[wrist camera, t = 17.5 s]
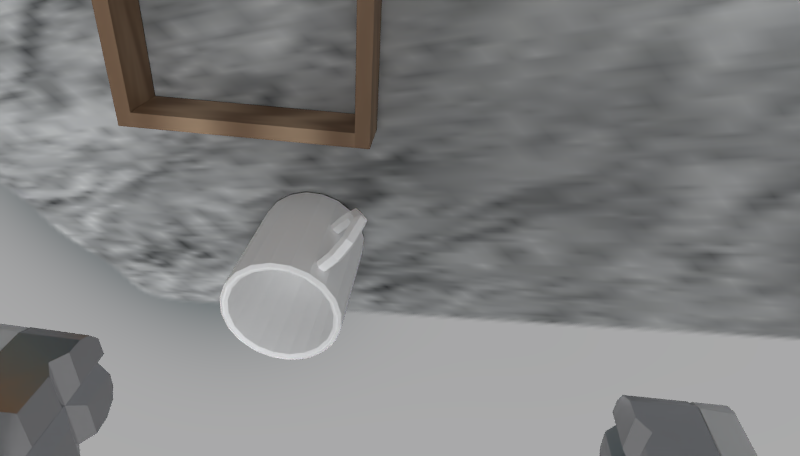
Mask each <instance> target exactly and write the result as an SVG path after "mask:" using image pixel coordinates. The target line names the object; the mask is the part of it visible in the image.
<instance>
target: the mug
mask: <svg viewBox="0 0 800 456" xmlns="http://www.w3.org/2000/svg"><path fill="white" fill-rule="evenodd" d="M366 222H367V219H366V218H365V216H364V215H363V214H362V212H360V211H359V210H358V209H357V208H355V209H353V210H351V211H350V210H349V209H348V208H346V207H345V206H344V205H343V204H341V203H340V202H339V201H337V200H335V199H332V198H330V197H328V196H325V195H323V194H316V193H309V192H305V193H299V194H292V195H289V196H287V197H285V198H283V199H281V200H279V201H277V202H276V204H275V205H274V206H273V207H272V208H271V209H270V210H269V211H268V213H267V214H266V216H265V218H264V219H263V221H262V223H261V224H260V226H259V228H258V229H257V231H256V233H255V234H254V236H253V238H252V239H251V241H250V242H249V244H248V246H247V247H246V249H245V251H244V252H243V254H242V256H241V257H240V259H239V261H238V262H237V264H236V266H235V267H234V269H233V271H232V272H231V274H230V276H229V277H228V279H227V280H226V282H225V284H224V287H223V290H222V292H221V295H220V307H221V314H222V316H223V318H224V320H225V322H226V324H227V326H228V328H229V329H230V330H231V331H232V332H233V334H234V335H235V336H236V337H237V338H238V339H239V340H240V341H241V342H243V343H244V344H246V345H247V346H249V347H250V348H252V349H253V350H255V351H257V352H260V353H262V354H265V355H268V356H270V357H274V358H281V359H288V360H293V359H304V358H309V357H312V356H314V355H317V354H319V353H322V352H323V351H325V350H326V349H327V348H329V347H330V346H331V345H332V344H333V343H334V342H335V340H336V338H337V336H338V334H339V332H340V330H341V327H342V324H343V320H344V317H345V313H346V309H347V306H348V302H349V299H350V295H351V292H352V288H353V284H354V281H355V277H356V274H357V270H358V266H359V263H360V259H361V256H362V252H363V241H364V237H363V234H362V230H363V229H364V227H365V225H366Z"/></svg>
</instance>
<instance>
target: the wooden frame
mask: <svg viewBox="0 0 800 456" xmlns="http://www.w3.org/2000/svg"><path fill="white" fill-rule="evenodd" d="M92 5H93V9H94V14H95V19H96V23H97V28H98V32H99V37H100V42H101V46H102V51H103V56H104V60H105V65H106V70H107V74H108V79H109V83H110V88H111V93H112V97H113V102H114V107H115V111H116V116H117V121H118V125H119V126H127V127H138V128H149V129H159V130H170V131H181V132H192V133H202V134H213V135H224V136H234V137H245V138H256V139H266V140H277V141H288V142H299V143H309V144H320V145H331V146H341V147H352V148H363V149H370V147H371V144H372V141H373V139H374V136H375V133H376V130H377V110H378V84H379V58H380V32H381V6H382V0H357V32H356V92H355V114H349V113H338V112H327V111H316V110H304V109H293V108H282V107H271V106H260V105H249V104H238V103H227V102H216V101H205V100H194V99H183V98H171V97H160V96H155V93H154V87H153V82H152V76H151V70H150V64H149V59H148V53H147V47H146V42H145V36H144V30H143V24H142V19H141V13H140V7H139V2H138V0H92Z"/></svg>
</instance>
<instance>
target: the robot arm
mask: <svg viewBox="0 0 800 456" xmlns="http://www.w3.org/2000/svg"><path fill="white" fill-rule="evenodd" d="M103 354H104V353H103V350H102V347H101V345H100V342H99V339H98V338H96V337H92V336H89V335H82V334H75V333H67V332H60V331H53V330H46V329H38V328H31V327H30V328H27V327H20V326H13V325H6V324H0V456H80V449H79V444H80V443H82V442H83V441H85V440H86V439H88V438H90V437H91V436H93V435H95V434H96V433H97V432H98V431H99V429H100V427H101V426H102V424H103V423H104V421H105V420H106V418H107V416H108V413H109V409H110V406H111V403H112V400H113V384H112V380H111V376H110V374H109V373H108V372H107V371H106V370H105V369H104V368H103V367H102V366H101V365H99V364H98V361H99V360H100V358H101V357H102V356H103ZM613 415H614V419H615V423H616V426H614V427H612V428H611V429H609V430H607V431H606V432H605V434H604V437H603V440H602V443H601V447H600V456H757V454H756V452H755V450H754V448H753V447H752V445H751V443H750V441H749V439H748V437H747V435H746V433H745V431H744V430H743V428H742V426H741V424H740V422H739V420H738V418H737V416H736V414H735V413H734V411H733V410H731V409H730V408H729V407H728V406H723V405H713V404H704V403H694V402H692V403H689V402H686V401H676V400H665V399H656V398H646V397H636V396H626V395H622V396H621V397H620V398H619V399H618V400H617V402H616V405H615V407H614V410H613Z"/></svg>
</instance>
